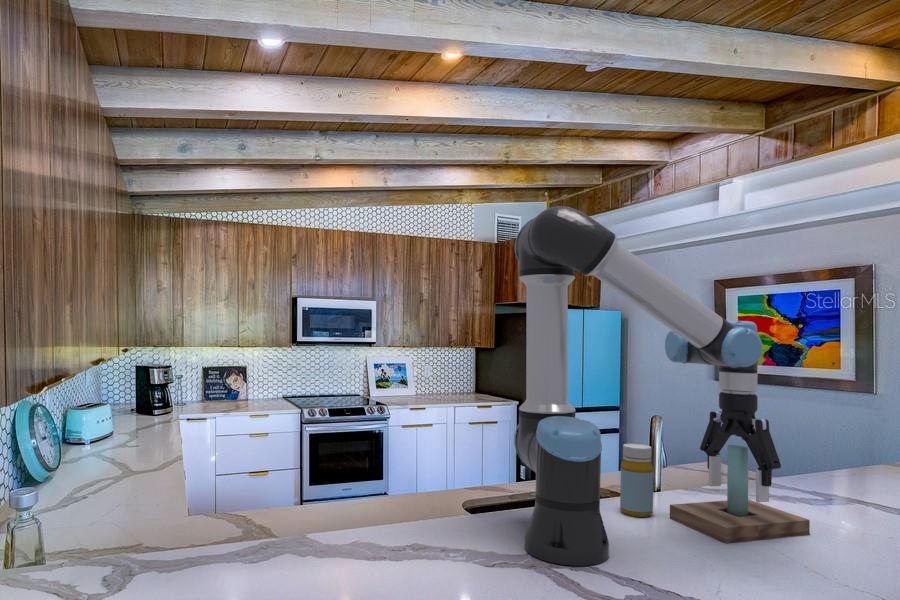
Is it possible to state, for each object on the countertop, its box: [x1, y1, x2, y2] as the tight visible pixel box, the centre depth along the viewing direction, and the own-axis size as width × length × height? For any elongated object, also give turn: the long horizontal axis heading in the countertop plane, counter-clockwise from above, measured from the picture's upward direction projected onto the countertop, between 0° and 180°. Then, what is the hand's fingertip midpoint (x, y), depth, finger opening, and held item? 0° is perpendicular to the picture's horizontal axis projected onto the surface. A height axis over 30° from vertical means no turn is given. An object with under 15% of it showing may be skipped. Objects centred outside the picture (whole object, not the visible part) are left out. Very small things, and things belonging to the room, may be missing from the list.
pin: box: [726, 444, 749, 517], centre depth 126 cm, size 4×4×16 cm
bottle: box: [619, 443, 654, 518], centre depth 133 cm, size 7×7×15 cm
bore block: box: [669, 498, 811, 544], centre depth 126 cm, size 22×16×3 cm
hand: (737, 493), depth 126 cm, fingers open, 12 cm apart
